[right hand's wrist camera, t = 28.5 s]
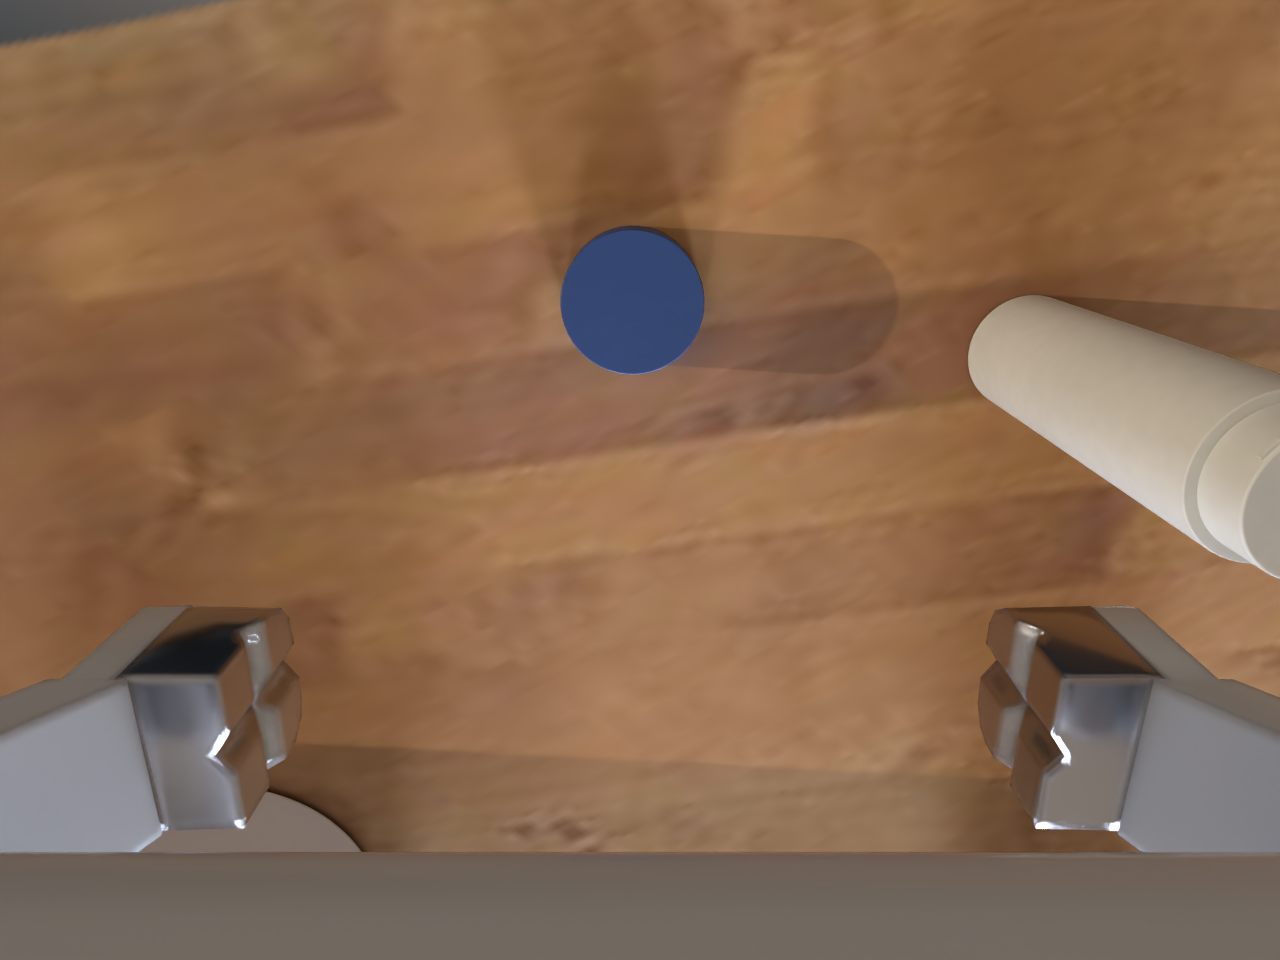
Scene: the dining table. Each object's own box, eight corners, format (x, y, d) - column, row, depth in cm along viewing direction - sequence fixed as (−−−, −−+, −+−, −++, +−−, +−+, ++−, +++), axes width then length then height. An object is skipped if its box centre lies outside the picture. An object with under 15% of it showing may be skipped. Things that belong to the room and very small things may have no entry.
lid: (541, 262, 37) (535, 267, 35) (667, 201, 36) (668, 203, 34) (600, 384, 39) (598, 396, 37) (721, 329, 38) (726, 339, 36)
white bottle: (1106, 343, 38) (1480, 490, 21) (1021, 429, 40) (1309, 631, 23) (1028, 270, 37) (1356, 363, 20) (943, 360, 38) (1184, 519, 21)
